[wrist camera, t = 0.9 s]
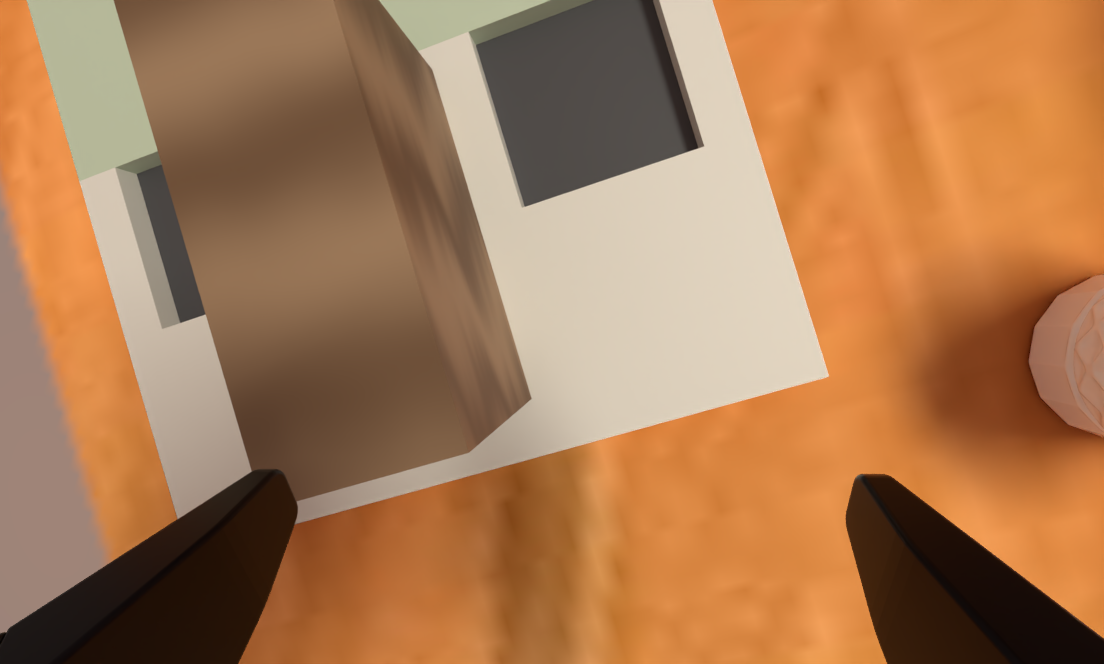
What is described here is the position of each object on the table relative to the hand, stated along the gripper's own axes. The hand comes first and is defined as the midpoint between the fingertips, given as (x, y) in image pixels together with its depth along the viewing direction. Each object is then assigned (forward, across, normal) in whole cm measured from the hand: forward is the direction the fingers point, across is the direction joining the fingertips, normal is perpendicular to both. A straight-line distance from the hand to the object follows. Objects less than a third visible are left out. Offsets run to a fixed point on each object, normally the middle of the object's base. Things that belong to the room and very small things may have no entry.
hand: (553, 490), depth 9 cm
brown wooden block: (+16, +8, +2) cm, 18 cm away
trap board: (+20, +9, -2) cm, 22 cm away
